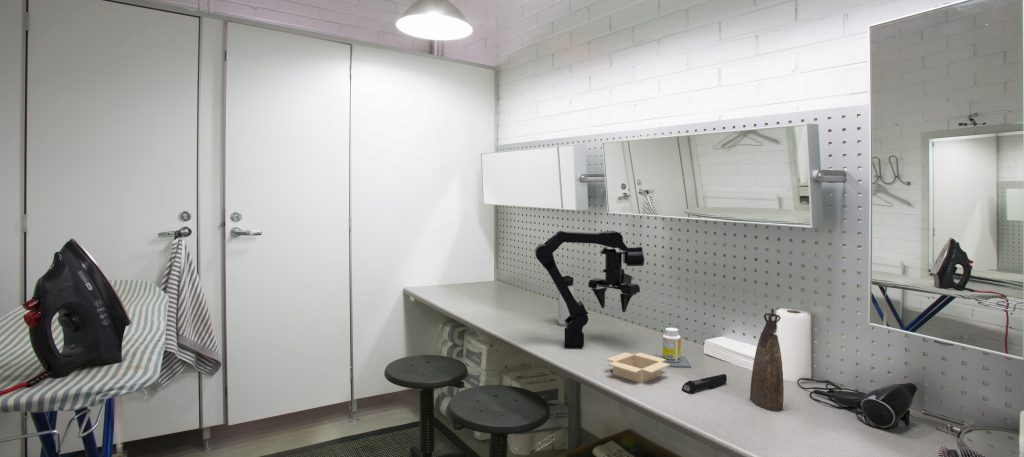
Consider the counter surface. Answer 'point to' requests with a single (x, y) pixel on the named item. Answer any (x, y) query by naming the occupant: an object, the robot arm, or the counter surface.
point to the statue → (768, 368)
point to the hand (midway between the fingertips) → (613, 309)
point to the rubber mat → (681, 364)
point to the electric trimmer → (704, 383)
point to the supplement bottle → (671, 345)
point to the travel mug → (562, 306)
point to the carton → (637, 366)
